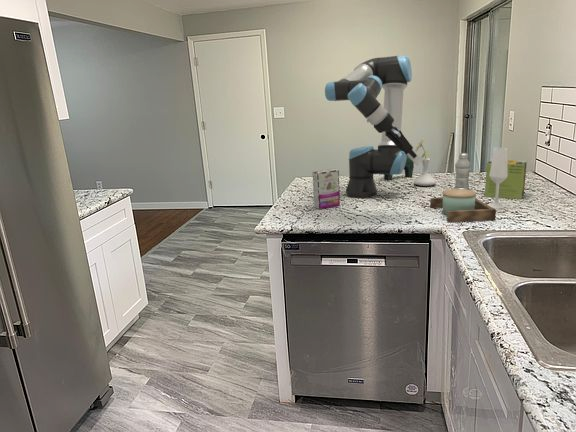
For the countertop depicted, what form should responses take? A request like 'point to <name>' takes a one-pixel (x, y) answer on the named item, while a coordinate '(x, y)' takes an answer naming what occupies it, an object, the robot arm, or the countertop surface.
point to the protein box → (508, 181)
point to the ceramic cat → (407, 168)
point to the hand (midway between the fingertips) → (419, 162)
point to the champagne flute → (498, 172)
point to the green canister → (458, 200)
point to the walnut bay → (467, 212)
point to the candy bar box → (326, 188)
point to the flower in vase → (424, 170)
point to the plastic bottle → (462, 172)
